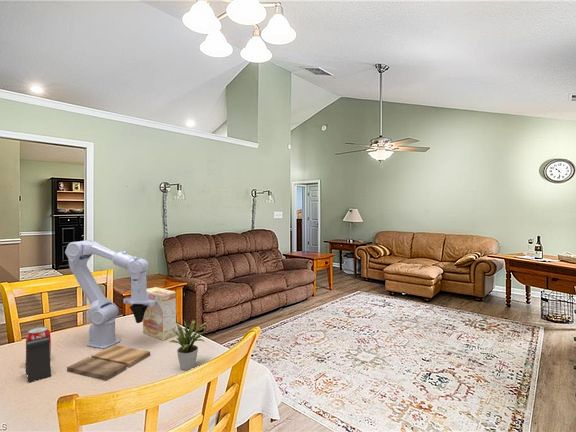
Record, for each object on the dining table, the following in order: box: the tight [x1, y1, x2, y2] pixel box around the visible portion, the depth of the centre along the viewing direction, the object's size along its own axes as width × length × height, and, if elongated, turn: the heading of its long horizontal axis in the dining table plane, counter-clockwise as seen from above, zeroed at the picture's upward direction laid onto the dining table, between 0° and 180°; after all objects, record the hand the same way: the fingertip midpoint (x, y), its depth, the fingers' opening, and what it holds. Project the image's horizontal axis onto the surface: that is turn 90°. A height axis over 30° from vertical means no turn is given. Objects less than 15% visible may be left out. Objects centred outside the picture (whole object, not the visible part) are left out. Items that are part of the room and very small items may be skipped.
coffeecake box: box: [142, 286, 177, 341], centre depth 144 cm, size 15×7×20 cm, turn 55°
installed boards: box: [66, 356, 127, 381], centre depth 112 cm, size 18×8×2 cm, turn 70°
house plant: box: [169, 319, 209, 371], centre depth 113 cm, size 14×14×16 cm
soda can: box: [25, 326, 52, 358], centre depth 118 cm, size 7×7×12 cm
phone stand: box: [25, 337, 52, 383], centre depth 109 cm, size 9×6×12 cm, turn 43°
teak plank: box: [90, 344, 151, 368], centre depth 122 cm, size 18×10×2 cm, turn 70°
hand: (139, 322), depth 132 cm, fingers closed
